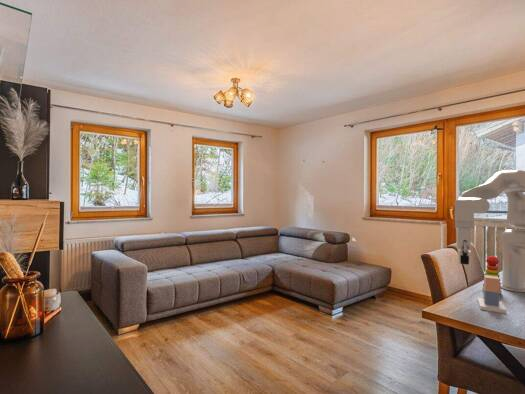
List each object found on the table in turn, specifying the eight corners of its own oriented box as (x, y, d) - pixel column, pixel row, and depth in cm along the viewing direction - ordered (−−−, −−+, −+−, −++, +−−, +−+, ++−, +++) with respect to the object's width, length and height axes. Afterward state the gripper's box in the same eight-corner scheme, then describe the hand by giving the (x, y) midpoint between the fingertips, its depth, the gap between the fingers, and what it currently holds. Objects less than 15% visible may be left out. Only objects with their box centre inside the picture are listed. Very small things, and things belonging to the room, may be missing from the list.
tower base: (477, 300, 145) (477, 285, 145) (501, 304, 141) (501, 288, 141) (480, 309, 135) (480, 292, 135) (506, 313, 131) (506, 296, 130)
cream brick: (457, 261, 150) (457, 249, 150) (469, 262, 147) (469, 250, 147) (458, 264, 146) (458, 251, 145) (471, 265, 143) (471, 252, 143)
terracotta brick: (483, 287, 141) (484, 274, 141) (497, 289, 139) (497, 276, 139) (485, 290, 137) (485, 277, 137) (499, 292, 134) (499, 279, 134)
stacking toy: (505, 294, 154) (506, 257, 154) (489, 294, 154) (490, 257, 154) (494, 289, 162) (494, 254, 161) (478, 289, 162) (479, 254, 162)
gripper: (454, 222, 155) (454, 258, 156) (455, 226, 140) (455, 266, 141) (471, 223, 151) (471, 259, 152) (475, 227, 137) (475, 267, 137)
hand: (464, 262), depth 146 cm, fingers closed on cream brick, 5 cm apart
